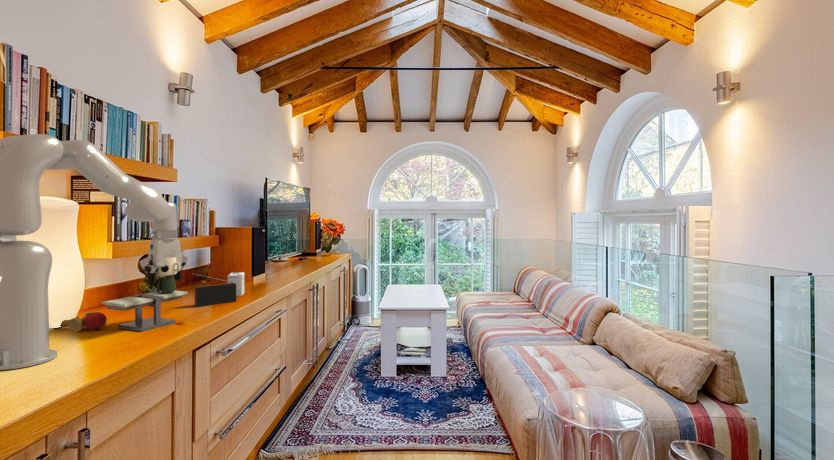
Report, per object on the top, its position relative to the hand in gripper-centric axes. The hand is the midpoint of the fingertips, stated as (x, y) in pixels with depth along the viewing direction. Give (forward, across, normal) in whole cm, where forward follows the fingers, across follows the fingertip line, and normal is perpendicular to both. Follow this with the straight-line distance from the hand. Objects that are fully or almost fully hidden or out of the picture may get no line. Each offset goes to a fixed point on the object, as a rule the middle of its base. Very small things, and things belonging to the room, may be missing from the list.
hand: (165, 282), depth 143 cm
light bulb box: (+15, +50, +18) cm, 55 cm away
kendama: (+15, -18, +17) cm, 29 cm away
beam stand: (+14, -6, 0) cm, 16 cm away
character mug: (+4, 0, 0) cm, 4 cm away
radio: (+15, +28, +10) cm, 33 cm away
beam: (+8, -6, 0) cm, 10 cm away
